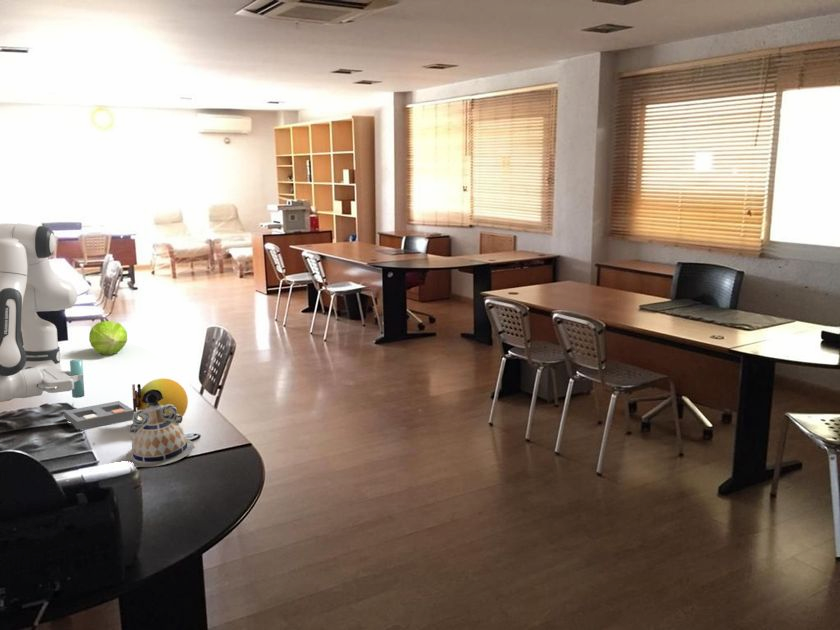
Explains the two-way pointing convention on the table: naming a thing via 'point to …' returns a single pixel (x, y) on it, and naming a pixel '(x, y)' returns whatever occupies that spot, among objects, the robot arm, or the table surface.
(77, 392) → the teal rounded cylinder
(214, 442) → the table surface
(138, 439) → the figurine
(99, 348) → the lettuce
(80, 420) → the socket board
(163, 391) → the emoji
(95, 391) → the table surface
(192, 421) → the table surface
